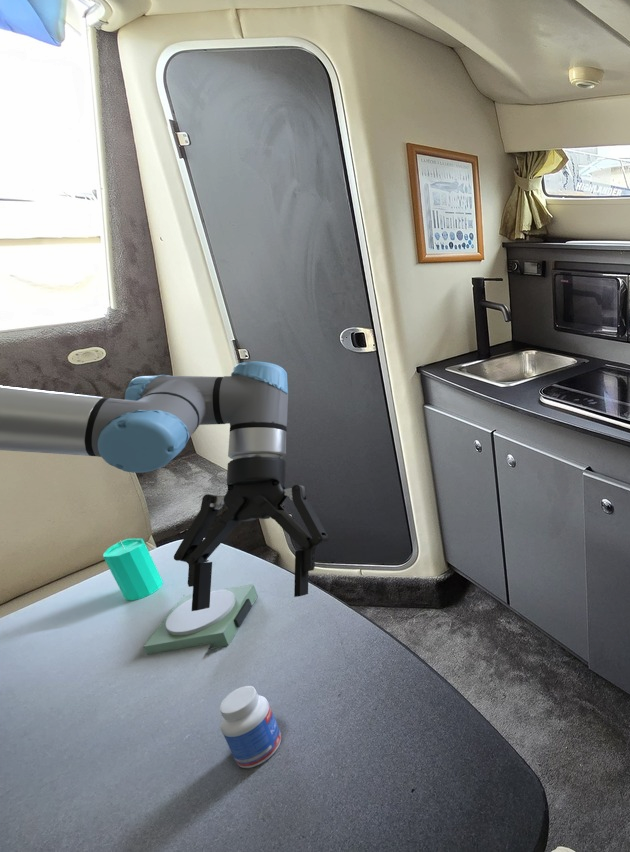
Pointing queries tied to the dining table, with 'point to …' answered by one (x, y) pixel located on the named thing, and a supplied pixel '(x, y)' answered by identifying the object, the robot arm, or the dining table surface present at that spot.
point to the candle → (133, 568)
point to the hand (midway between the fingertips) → (251, 602)
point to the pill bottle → (249, 727)
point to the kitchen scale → (204, 621)
